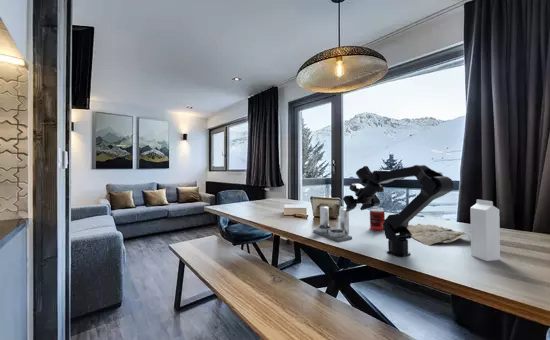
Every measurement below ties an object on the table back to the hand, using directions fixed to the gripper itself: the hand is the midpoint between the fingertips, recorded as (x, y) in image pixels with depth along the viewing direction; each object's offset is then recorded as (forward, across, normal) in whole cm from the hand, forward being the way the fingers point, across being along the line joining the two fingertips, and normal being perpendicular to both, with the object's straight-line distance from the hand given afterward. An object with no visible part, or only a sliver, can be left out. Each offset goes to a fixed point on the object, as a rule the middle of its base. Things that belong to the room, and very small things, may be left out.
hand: (353, 210), depth 120 cm
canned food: (+14, -21, +6) cm, 26 cm away
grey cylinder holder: (+14, +9, +5) cm, 18 cm away
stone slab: (-1, -36, +21) cm, 42 cm away
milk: (-21, -26, +40) cm, 52 cm away
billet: (+15, 0, +4) cm, 16 cm away
